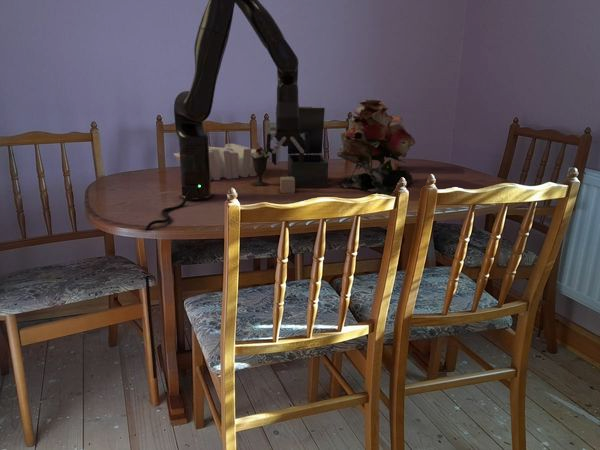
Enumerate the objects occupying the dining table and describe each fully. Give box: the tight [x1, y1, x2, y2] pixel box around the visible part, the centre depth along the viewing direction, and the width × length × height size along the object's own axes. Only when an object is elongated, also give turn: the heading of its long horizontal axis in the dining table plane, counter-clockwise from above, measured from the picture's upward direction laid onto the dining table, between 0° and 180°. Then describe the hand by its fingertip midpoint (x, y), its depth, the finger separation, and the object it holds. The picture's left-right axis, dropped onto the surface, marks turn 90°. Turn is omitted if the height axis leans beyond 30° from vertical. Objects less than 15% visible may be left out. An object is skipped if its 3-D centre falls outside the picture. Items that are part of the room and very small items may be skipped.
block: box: [279, 176, 296, 194], centre depth 181 cm, size 5×5×5 cm
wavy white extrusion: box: [173, 143, 259, 182], centre depth 205 cm, size 35×16×11 cm, turn 119°
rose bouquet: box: [336, 98, 416, 195], centre depth 190 cm, size 26×29×30 cm
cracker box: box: [384, 116, 403, 170], centre depth 217 cm, size 14×6×21 cm, turn 165°
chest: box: [287, 153, 329, 189], centre depth 194 cm, size 17×13×9 cm
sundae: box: [251, 142, 270, 187], centre depth 190 cm, size 7×7×15 cm
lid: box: [287, 106, 326, 155], centre depth 198 cm, size 18×13×5 cm
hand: (287, 164), depth 180 cm, fingers open, 8 cm apart
